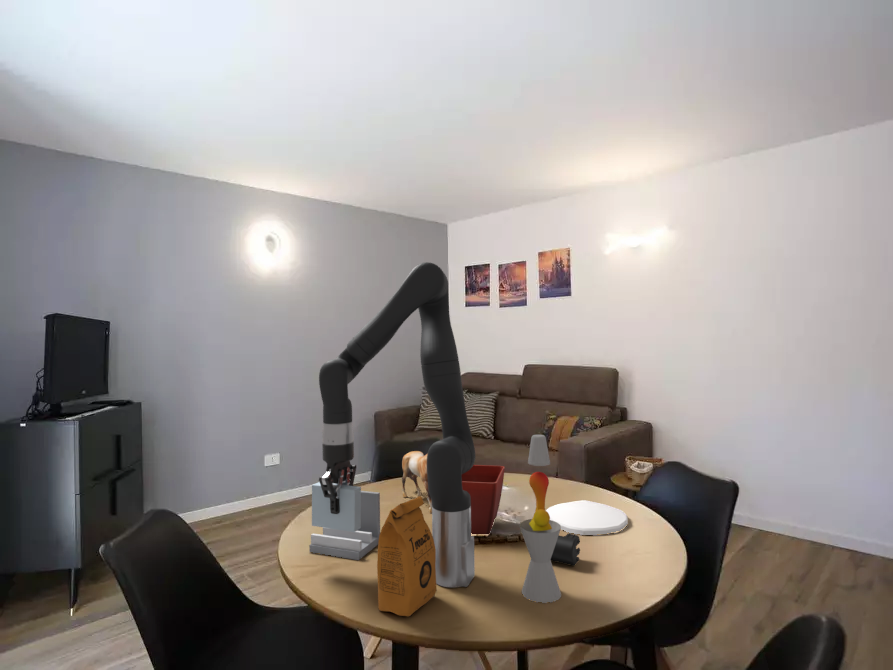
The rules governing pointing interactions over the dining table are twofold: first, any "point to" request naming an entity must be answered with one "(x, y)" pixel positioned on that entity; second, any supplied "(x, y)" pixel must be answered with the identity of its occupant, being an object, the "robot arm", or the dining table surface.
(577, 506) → the decorative plate
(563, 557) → the end cap
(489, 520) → the plant pot
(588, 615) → the dining table surface
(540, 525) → the lava lamp
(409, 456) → the horse figurine
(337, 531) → the grey slotted stand
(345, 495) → the door panel
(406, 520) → the coffee package
